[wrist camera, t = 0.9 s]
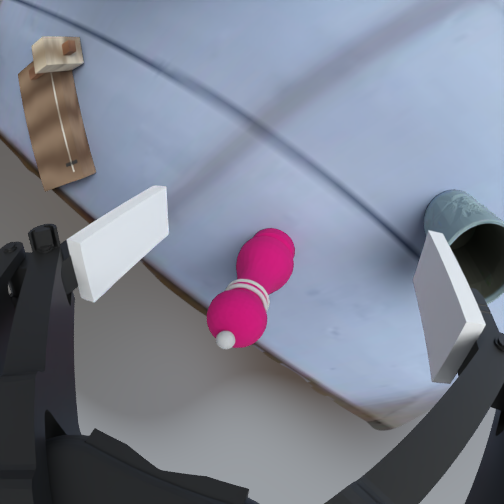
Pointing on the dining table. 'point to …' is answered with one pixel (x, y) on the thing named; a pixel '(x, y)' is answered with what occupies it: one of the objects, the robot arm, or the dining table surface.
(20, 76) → the walnut board
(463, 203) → the green ceramic cup
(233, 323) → the pepper mill
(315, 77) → the dining table surface
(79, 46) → the marking gauge
